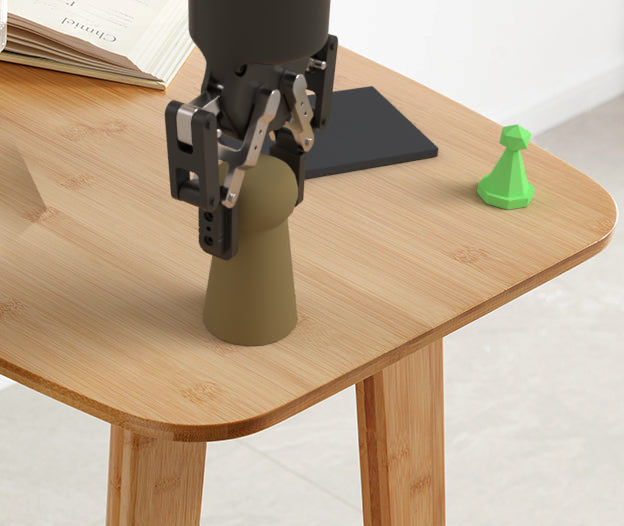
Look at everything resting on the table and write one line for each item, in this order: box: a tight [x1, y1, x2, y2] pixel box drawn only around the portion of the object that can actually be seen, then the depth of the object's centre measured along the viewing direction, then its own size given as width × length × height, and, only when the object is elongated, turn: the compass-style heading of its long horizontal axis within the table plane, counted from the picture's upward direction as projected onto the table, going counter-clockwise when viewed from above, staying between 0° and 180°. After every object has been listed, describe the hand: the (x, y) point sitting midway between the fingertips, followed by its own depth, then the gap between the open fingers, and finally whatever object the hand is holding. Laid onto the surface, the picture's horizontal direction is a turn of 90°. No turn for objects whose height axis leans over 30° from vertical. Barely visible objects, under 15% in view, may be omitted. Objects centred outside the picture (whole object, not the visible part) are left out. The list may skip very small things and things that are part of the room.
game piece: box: [476, 124, 536, 211], centre depth 85 cm, size 4×4×6 cm
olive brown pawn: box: [202, 154, 299, 347], centre depth 69 cm, size 6×6×11 cm
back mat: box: [217, 85, 439, 180], centre depth 92 cm, size 16×12×1 cm
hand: (253, 226), depth 68 cm, fingers open, 6 cm apart
